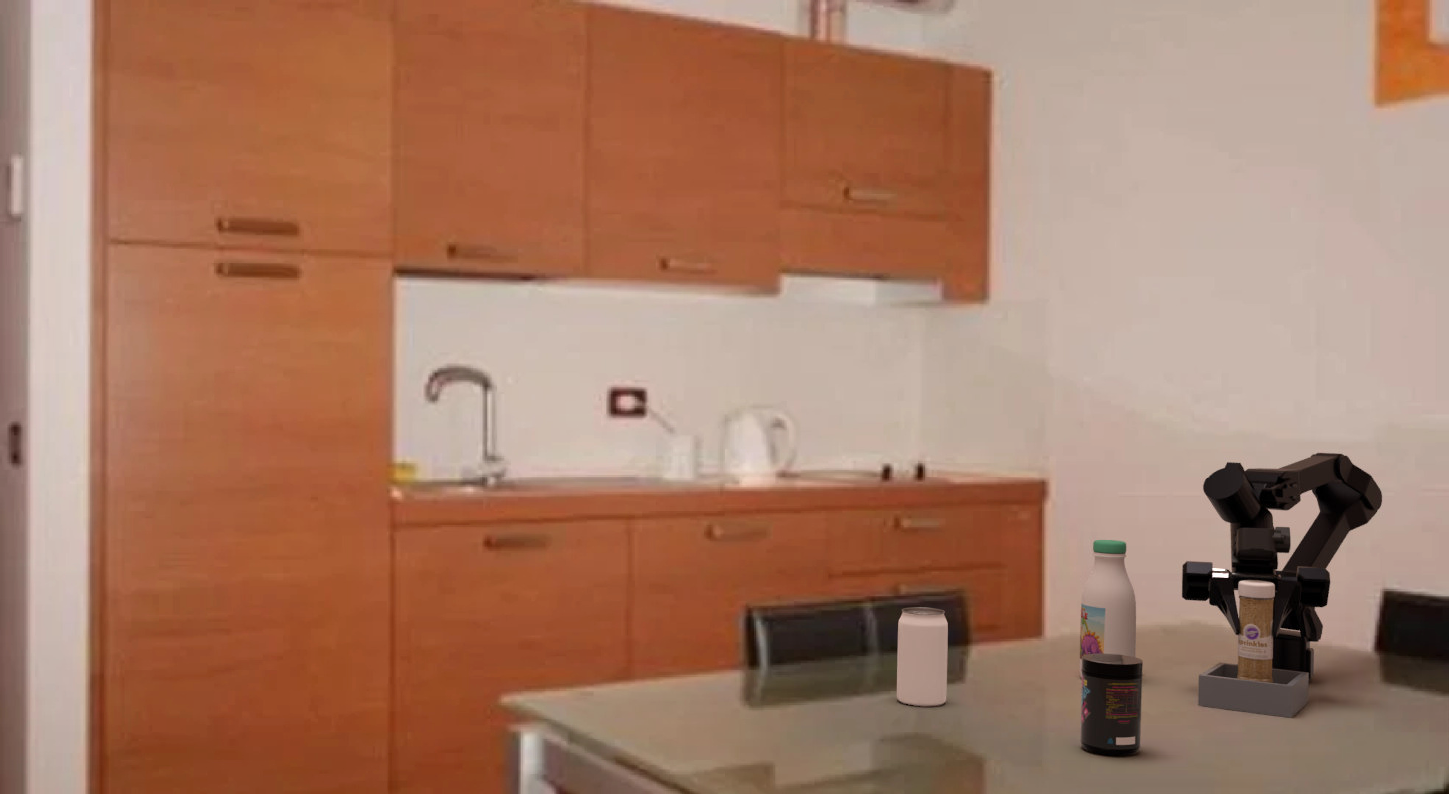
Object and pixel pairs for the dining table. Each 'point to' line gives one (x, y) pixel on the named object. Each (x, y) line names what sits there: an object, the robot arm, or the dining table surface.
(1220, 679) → the bin
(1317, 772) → the dining table surface
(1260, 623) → the sprinkles bottle
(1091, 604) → the milk bottle
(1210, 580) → the robot arm
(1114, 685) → the supplement container
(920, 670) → the can
